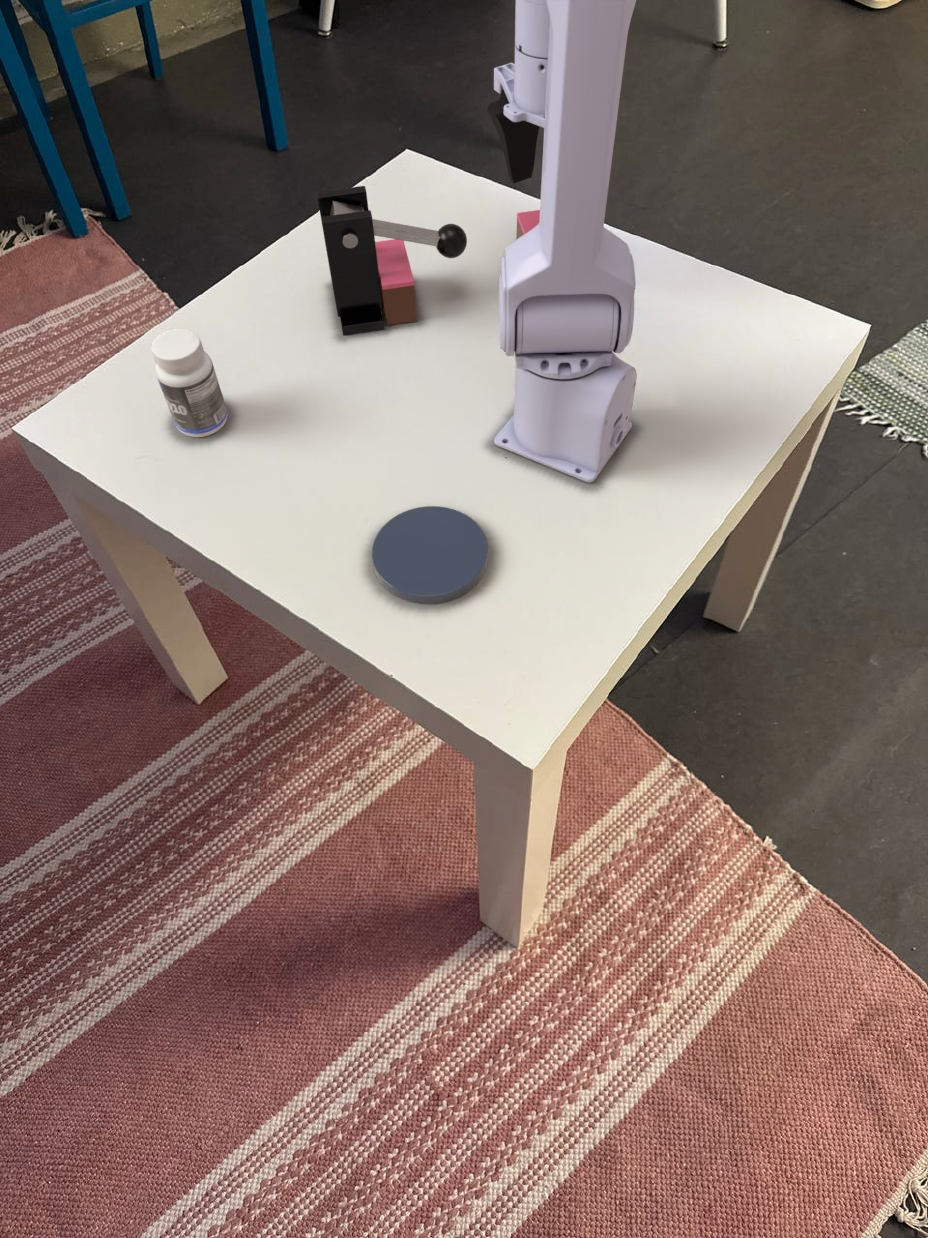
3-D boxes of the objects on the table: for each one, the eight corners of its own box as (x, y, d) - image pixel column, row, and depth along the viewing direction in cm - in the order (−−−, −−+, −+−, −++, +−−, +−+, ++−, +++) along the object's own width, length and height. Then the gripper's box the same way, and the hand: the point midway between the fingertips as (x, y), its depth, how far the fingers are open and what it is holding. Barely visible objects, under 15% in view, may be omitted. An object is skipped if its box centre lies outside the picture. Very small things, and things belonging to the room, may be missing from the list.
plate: (508, 541, 73) (509, 532, 72) (449, 622, 68) (448, 614, 68) (413, 498, 75) (412, 490, 75) (350, 574, 71) (349, 566, 70)
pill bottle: (165, 418, 82) (135, 341, 75) (211, 394, 83) (185, 316, 77) (192, 446, 80) (164, 370, 73) (239, 421, 81) (215, 344, 74)
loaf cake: (406, 278, 92) (402, 237, 89) (417, 321, 89) (414, 280, 85) (377, 282, 92) (372, 241, 89) (386, 325, 88) (382, 285, 85)
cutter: (458, 248, 89) (467, 220, 86) (464, 266, 87) (473, 238, 85) (326, 225, 84) (332, 194, 82) (329, 244, 82) (336, 213, 80)
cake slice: (553, 248, 95) (556, 207, 91) (563, 270, 92) (566, 229, 89) (516, 253, 94) (516, 212, 91) (524, 276, 92) (525, 235, 88)
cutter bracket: (375, 279, 93) (362, 176, 84) (386, 329, 88) (374, 225, 79) (332, 285, 92) (314, 182, 83) (341, 335, 88) (323, 232, 79)
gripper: (463, 22, 79) (467, 175, 90) (557, 91, 72) (549, 248, 83) (532, 2, 81) (528, 153, 92) (630, 67, 74) (613, 223, 85)
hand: (542, 197), depth 88 cm, fingers open, 7 cm apart
